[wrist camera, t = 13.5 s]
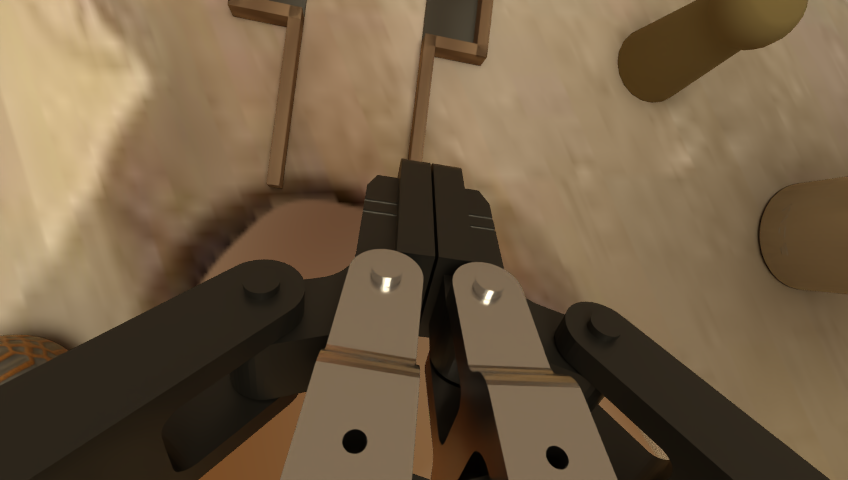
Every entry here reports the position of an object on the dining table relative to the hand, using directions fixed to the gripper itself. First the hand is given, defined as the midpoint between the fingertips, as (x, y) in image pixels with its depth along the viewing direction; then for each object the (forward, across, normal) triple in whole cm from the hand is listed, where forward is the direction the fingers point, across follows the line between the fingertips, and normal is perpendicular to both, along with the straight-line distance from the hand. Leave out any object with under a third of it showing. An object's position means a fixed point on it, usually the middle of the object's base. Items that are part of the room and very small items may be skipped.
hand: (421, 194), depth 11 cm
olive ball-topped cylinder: (+27, -20, +2) cm, 34 cm away
